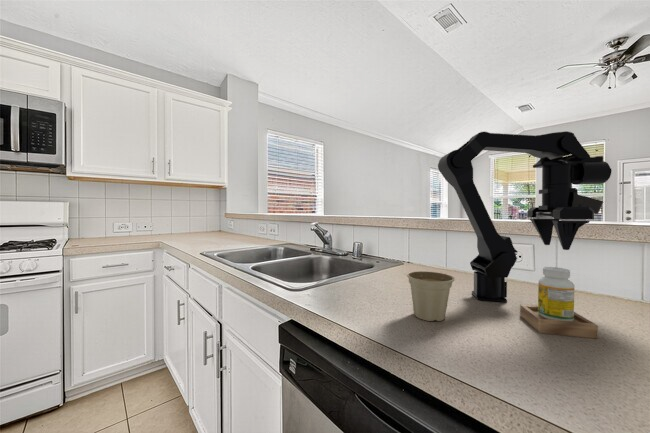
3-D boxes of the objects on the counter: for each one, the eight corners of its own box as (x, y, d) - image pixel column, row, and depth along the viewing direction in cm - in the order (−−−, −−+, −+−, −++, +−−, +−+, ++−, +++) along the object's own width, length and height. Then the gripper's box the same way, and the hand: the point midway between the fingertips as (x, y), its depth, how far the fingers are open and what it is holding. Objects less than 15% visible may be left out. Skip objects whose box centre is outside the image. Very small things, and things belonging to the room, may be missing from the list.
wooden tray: (540, 332, 50) (540, 320, 50) (520, 315, 59) (520, 304, 59) (597, 338, 48) (597, 325, 48) (568, 319, 56) (568, 308, 56)
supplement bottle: (574, 326, 50) (575, 273, 49) (537, 318, 53) (538, 269, 53) (573, 317, 54) (574, 268, 54) (538, 310, 57) (539, 264, 57)
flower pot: (451, 311, 61) (451, 272, 61) (456, 328, 52) (457, 283, 52) (407, 306, 64) (407, 269, 64) (405, 321, 55) (405, 279, 55)
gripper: (625, 179, 57) (624, 254, 58) (574, 186, 75) (573, 243, 76) (561, 181, 61) (560, 252, 61) (526, 188, 79) (526, 242, 79)
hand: (556, 247), depth 69 cm, fingers open, 9 cm apart
